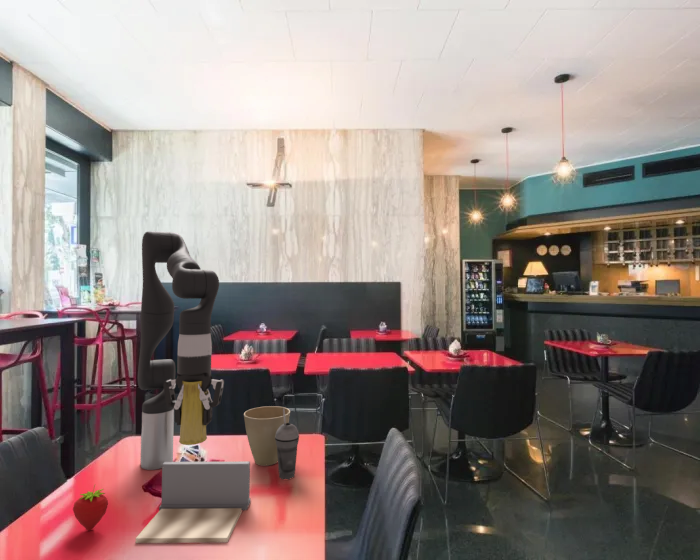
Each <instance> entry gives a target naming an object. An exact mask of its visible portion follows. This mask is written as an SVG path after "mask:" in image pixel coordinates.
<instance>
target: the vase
mask: <svg viewBox="0 0 700 560" xmlns="http://www.w3.org/2000/svg"><path fill="white" fill-rule="evenodd" d="M198 383H199V384H200V386H201V387H202V381H198V382H185V381H182V384H184V389H183V400H182V409H181V425H179V427H180V429H179V440H178V442H179V444H181V445H185V446H192V445H193V446H194V445H199V444H202V443H204V442H205V441H206V440H207V439H208V437H207V425H204V409H205V407H204V405H203V402H202V401H201V400H200V390H199V389H198ZM204 394H205V395H206V392H204Z"/></svg>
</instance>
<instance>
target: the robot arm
mask: <svg viewBox="0 0 700 560" xmlns="http://www.w3.org/2000/svg"><path fill="white" fill-rule="evenodd" d="M141 263H142V265H141V266H142V290H141V291H142V293H141V304H140V305H141V306H140V347H139V356H138V357H139V358H138V367H137V370H138V371H137V384H138V388H139V389H140V390H142V391H151V390H160V389H163V390H162V391H161V392H160V393H158V394H157V395H155V396H153V397H151V398H149V399H147V400H145V401H144V402H143V403H142V405H141V411H142V412H141V433H140V467H141V469H143V470H147V471H151V470H154V471H155V470H160V469H162V464H163V463H164V462H174V427H175V426H174V425H175V424H176V425H177V426H181V409H182V400H183V389H184V384H182V381H185V382H198V381H202V387H201V386H200V384H199V383H198V389H199V390H200V400H201V401H202V402H203V405H204V407H205V409H204V425H206V426H208V425H209V424H210V423H211V422H212V421H213V408H216V407H218V405H220V404H221V402H222V396H223V391H224V387H225V386H224V385H225V380H224V379H220V380H219V379H214V378H213V376H212V352H213V348H212V346H213V345H212V336H211V335H212V333H211V329H212V328H211V326H212V323H211V322H212V313H213V309H214V305H215V301H216V297H217V295H218V293H219V292H218V291H219V288H220V280H219V279H220V278H219V276H218V274H217V273H216V272H215V271H214V270H211V269H201V266H200V265H199V264H198V263H197V261H195V260H194V259H193V257H192V256H191V255H190V251H189V249H188V246H187V244H186V243H185V240H184V238H183V237H182V235H180V234H179V233H177V232H172V231H155V230H154V231H152V230H149V231H146V232H144V233H143V236H142V240H141ZM156 263H158V264H166V269H167V273H168V274H169V276H170V277H171V278H172V282H171V284H172V285H171V290H172V292H173V295H174V296H176V297H177V298H179V299H182V300H183V299H185V300H186V299H187V300H188V299H189V300H191V299H193V300H195V299H196V300H197V299H198V300H199V299H200V301H199V304H198V305H197V306H195V307H190V308H186V309H183V310H181V311H180V314H179V323H178V324H179V327H178V329H179V331H178V335H179V336H178V341H177V369H176V363H175V361H174V360H173V359H171V358H169V359H166V358H165V359H153V360H152V357H153V355H154V352H155V350H156V348H157V347H158V346H159V344H160V342H161V343H162V340H163V339H164V338H165V337H166V336H167V335H168V333H169V331H170V330H171V328H172V327H173V325H174V321H175V302H174V300H173V298H172V297H171V295H170V293H169V292H168V290H167V289H166V287H165V286H164V284H163V283H162V282H161V279H160V278H159V276H158V273H157V271H156V270H157V269H156ZM176 370H177V371H176ZM176 372H177V377H176ZM211 385H212V388H213V389H214V393H213V394H214V395H213V400H212V398H211V393H210V390H209V388H210V386H211ZM176 386H177V388H178V389H179V393H178V396H177V398H176V394H175V389H176ZM204 392H206V395H205V394H204ZM174 423H175V424H174Z"/></svg>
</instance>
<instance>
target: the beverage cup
mask: <svg viewBox="0 0 700 560" xmlns="http://www.w3.org/2000/svg"><path fill="white" fill-rule="evenodd" d="M283 415H284V424H282V425H281V426H280V427H279V428H278V430H277V432H276V436H275V440H276V445H277V456H278V462H277V466H278V467H277V469H278V475H279V476H278V477H279V479H280V478H281V480H284V479H288V480H291V479H290V478H292V477H293V478H294V477H295V474H296V473H295V472H296V468H297V467H296V465H297V454H298V445H299V440H300V439H299V438H300V435H299V430H298V428H297V426H296V425H295V424H292V422H289V423H286V419H285V409H283ZM293 478H292V479H293Z"/></svg>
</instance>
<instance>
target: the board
mask: <svg viewBox="0 0 700 560" xmlns="http://www.w3.org/2000/svg"><path fill="white" fill-rule="evenodd" d="M241 509H242V508H214V509H161V510H160V511H159V510H158V512H157V513H156V514H155V515H154V516H153V518H152V519H151V520H150V521H149V522H148V524H147V525H145V527H144V528H143V529H142V531H140V533H139V534H138V535H137V536H136V537H135V544H167V543H169V544H175V543H176V544H178V543H179V544H180V543H181V544H184V543H185V544H187V543H189V544H192V543H204V544H205V543H228V542H229V539H230V538H231V535H232V534H233V531H234V529H235V527H236V525H237V523H238V520H239V518H240V516H241V514H242V510H241Z"/></svg>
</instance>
